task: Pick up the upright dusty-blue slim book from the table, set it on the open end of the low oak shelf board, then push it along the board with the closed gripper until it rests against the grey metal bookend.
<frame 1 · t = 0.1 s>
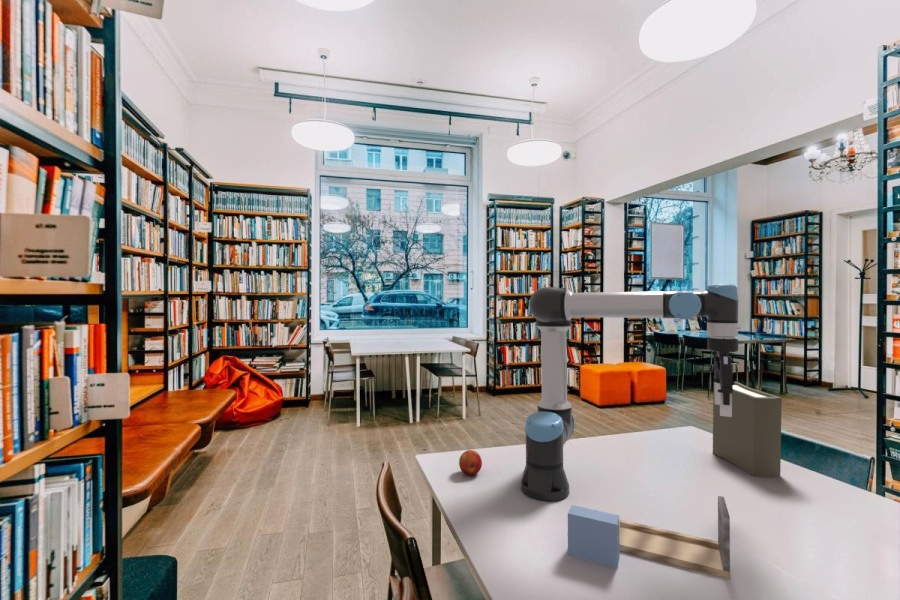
hand: (722, 410, 120), 28 cm above the table, fingers open, 13 cm apart
apple: (470, 475, 143), on the table
shelf: (669, 551, 99), on the table
book: (745, 465, 149), on the table
slim book: (593, 556, 97), on the table
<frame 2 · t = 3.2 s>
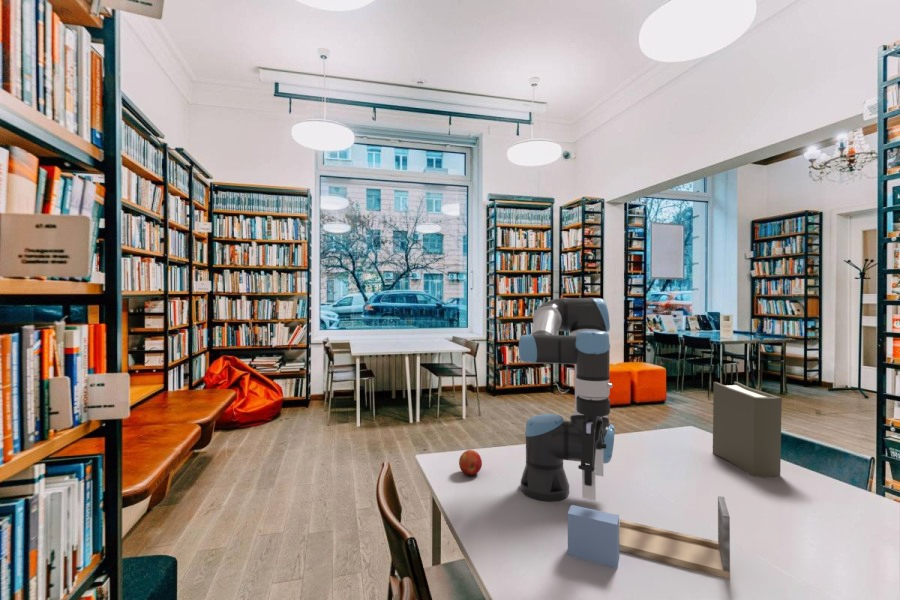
hand: (593, 486, 97), 17 cm above the table, fingers open, 13 cm apart
nothing on the table moved.
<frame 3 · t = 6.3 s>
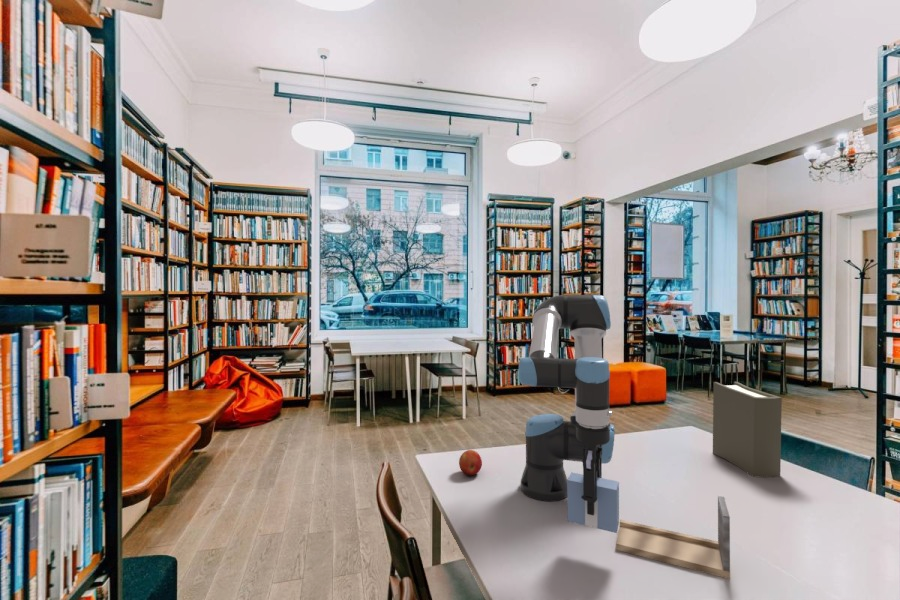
hand: (593, 520, 98), 8 cm above the table, fingers closed on slim book, 4 cm apart
slim book: (593, 521, 98), point 8 cm above the table, touching gripper
everything else where it was.
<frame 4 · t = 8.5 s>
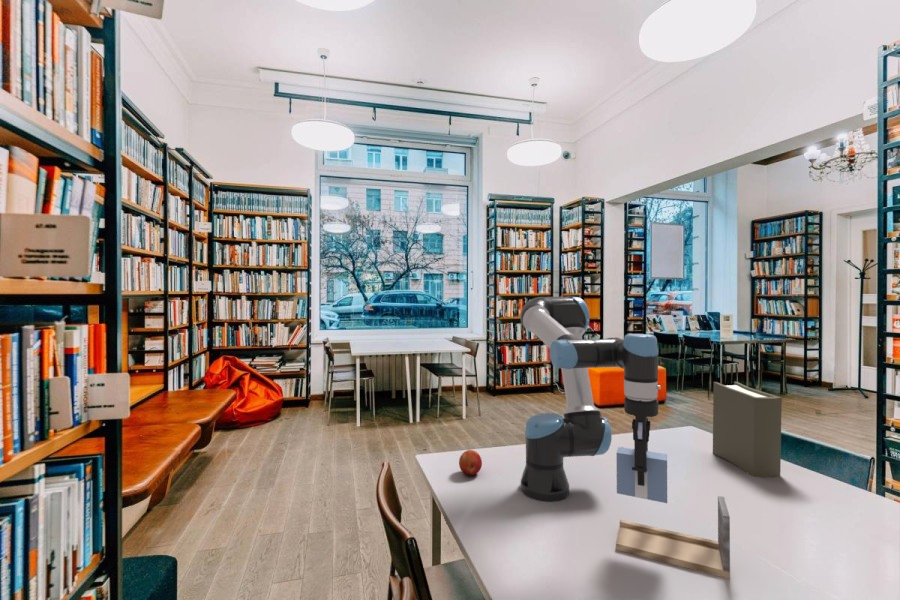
hand: (641, 492, 101), 13 cm above the table, fingers closed on slim book, 4 cm apart
slim book: (641, 494, 101), point 13 cm above the table, touching gripper
everything else where it was.
when the fingers open (2 cm above the table, at t = 10.7 s): slim book stays where it is, resting on shelf.
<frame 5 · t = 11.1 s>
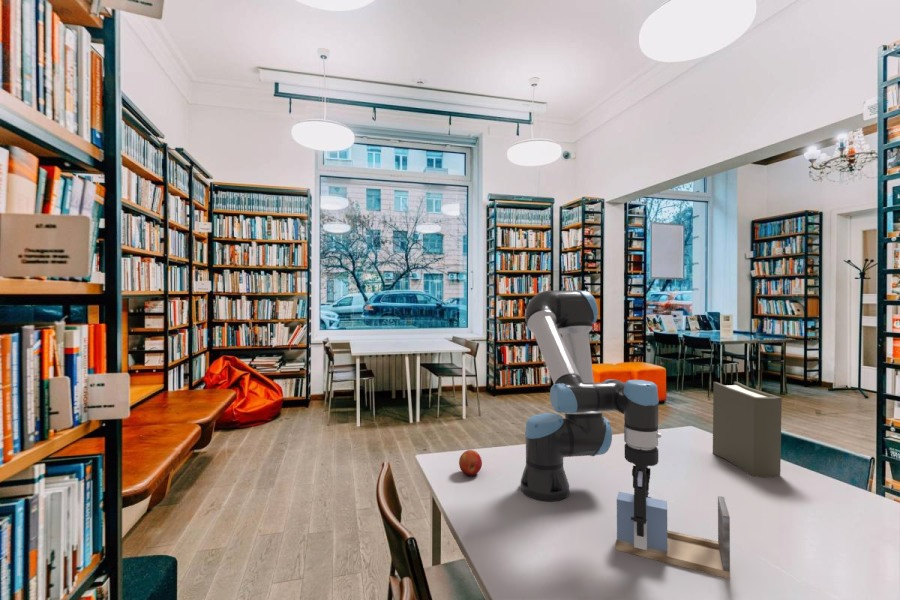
hand: (641, 537, 100), 3 cm above the table, fingers open, 9 cm apart
slim book: (642, 540, 101), point 1 cm above the table, touching shelf
everything else where it was.
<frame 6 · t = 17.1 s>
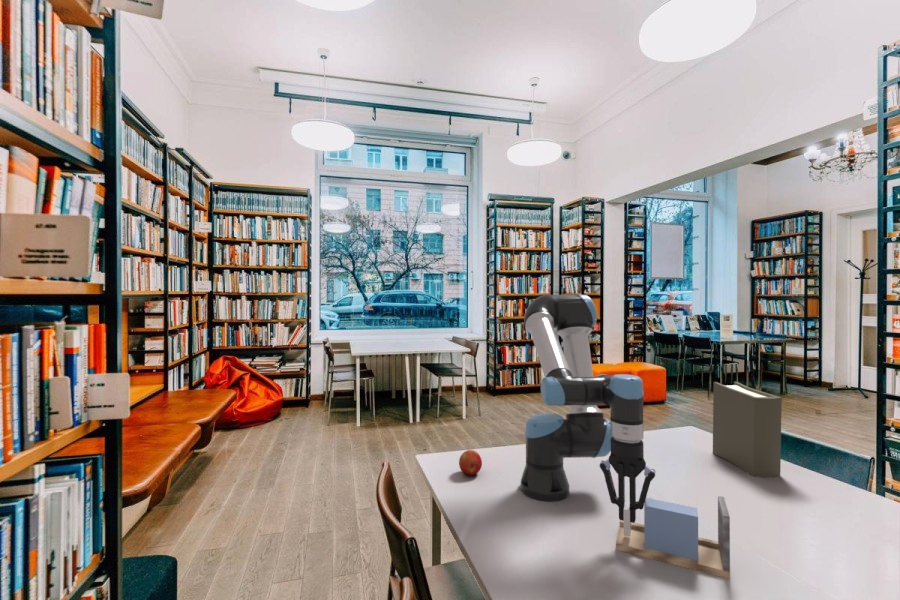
hand: (627, 533, 102), 3 cm above the table, fingers closed
slim book: (670, 548, 97), point 2 cm above the table, touching hand
everything else where it was.
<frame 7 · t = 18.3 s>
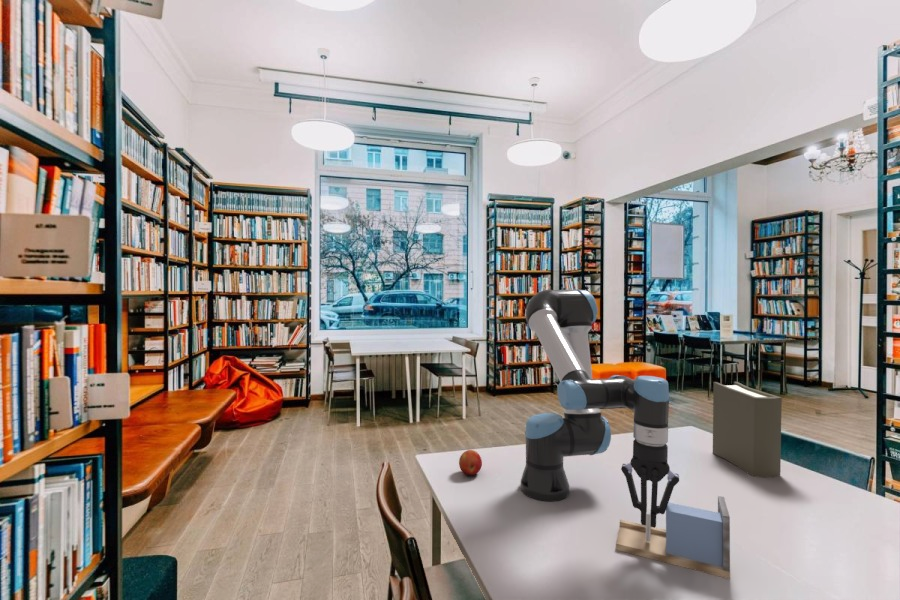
hand: (648, 538, 100), 3 cm above the table, fingers closed
slim book: (693, 554, 95), point 1 cm above the table, touching hand, shelf
everything else where it was.
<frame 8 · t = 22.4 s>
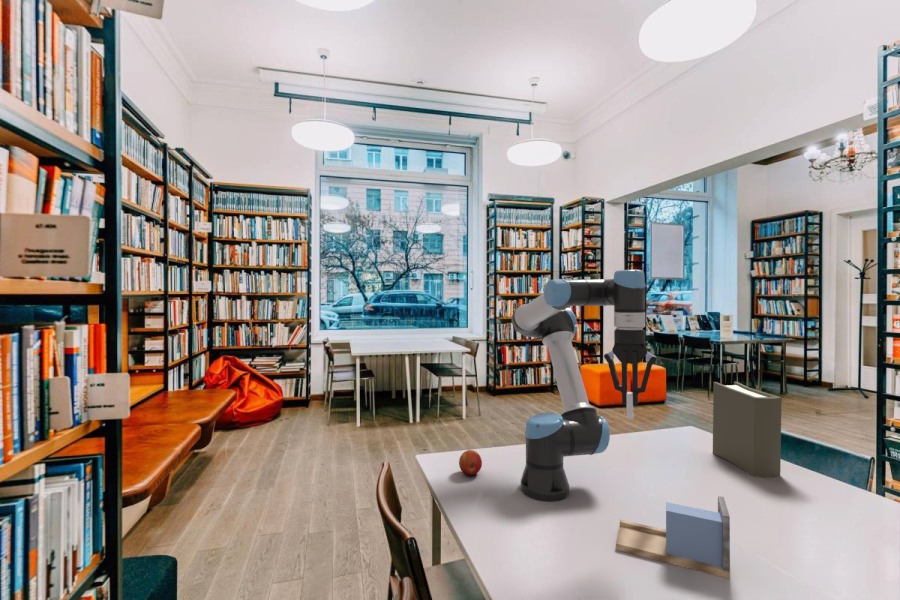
hand: (630, 417, 109), 29 cm above the table, fingers closed
slim book: (693, 554, 95), point 1 cm above the table, touching shelf
everything else where it was.
at the end: slim book 1.2 cm from the target spot on the shelf, point 1.5 cm above the shelf's base; slim book tilted 0°; the gripper is holding nothing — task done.
